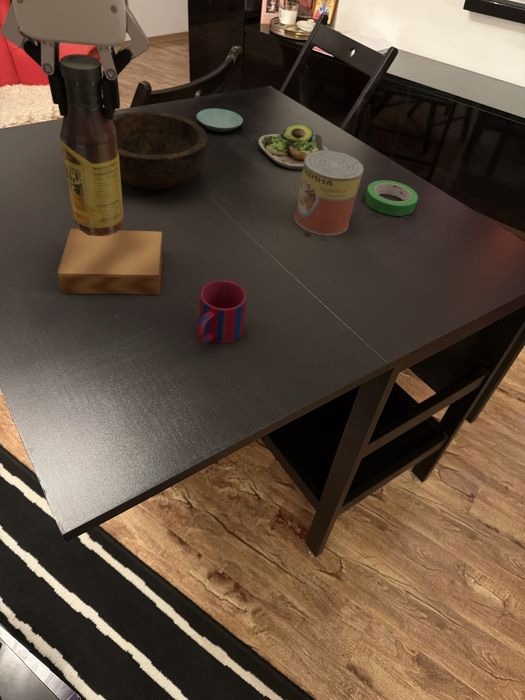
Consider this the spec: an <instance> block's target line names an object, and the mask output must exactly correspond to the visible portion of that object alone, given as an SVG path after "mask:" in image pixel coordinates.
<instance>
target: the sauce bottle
mask: <svg viewBox="0 0 525 700" xmlns="http://www.w3.org/2000/svg"><path fill="white" fill-rule="evenodd" d="M59 61H60V71H61V75H62V77H63V78H64V86H65V92H66V103H67V115H66V116H62V117H63V118H62V123H61V128H60V134H59V138H60V145H61V146H60V147H61V151H62V156H63V157H62V158H63V163H64V169H65V176H66V183H67V186H68V187H67V188H68V194H69V199H70V204H71V211H72V216H73V218H74V222H75V225H76V227H77V229H80V230H81V231H83V232H84V233H85V234H87V235H90V236H107V235H111V234H113V233H116V232H117V231H119V230H122V228H123V221H124V220H123V218H124V207H123V191H122V180H121V177H120V163H119V151H118V149H117V138H116V135H117V134H116V129H115V125H114V123H113V121H112V120H110V119H107V118H105V111H104V103H103V95H102V88H101V79H102V77H103V67H102V63H101V61H100V60H99V59H98V58H96V57H94V56H91V55H87V54H80V53H73V54H67V55H64V56H62V57H61V58H59Z"/></svg>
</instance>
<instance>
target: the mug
mask: <svg viewBox="0 0 525 700" xmlns="http://www.w3.org/2000/svg"><path fill="white" fill-rule="evenodd" d="M247 299H248V294H247V292H246V290H245V288H244V287H243V286H242V285H240V284H239V283H237V282H236V281H231V280H227V279H216V280H212V281H209V282H207V283H205V284H204V285H203V286H202V288H201V289H200V291H199V322H198V324H197V328H196V338H197V341H198V342H200V343H201V344H208V343H209V342H212V343H214V344H230V343H233V342H235V341H237V340H238V339H239V338H240V337H241V336H243V332H244V325H245V316H246V310H247V309H246V308H247Z"/></svg>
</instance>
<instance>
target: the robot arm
mask: <svg viewBox="0 0 525 700" xmlns="http://www.w3.org/2000/svg"><path fill="white" fill-rule="evenodd" d="M129 5H130V4H129V0H11V3H10V5H9V8H8V11H7V13H6V16H5V18H4V21H3V23H2V26H1V29H0V34H1V35H2V36H3V37H4V38H5V39H6V40H8V41H9V42H10V43H12V44H13V45H15V46H16V47H18V48H19V49H21V50H22V51H24V52H25V54H26V55H27V56H29V57H30V58H31V59H32V60H33V62H35V63H36V64H37V65H38V66H39V67H40V68H41V71H42V72H43V73H44V74H45V75H47V80H48V86H49V90H50V95H51V100H52V104H53V105H57V107H58V111H59V115H60V117H64V116H66V115H67V103H66V92H65V86H64V78H63V77H62V75H61V71H60V48H61V47H60V44H70V45H71V44H72V45H83V46H93V47H96V49H97V52H98V57H99V59H100V60H99V61H100V63H101V67H102V79H101V88H102V98H103V103H104V105H103V107H104V111H105V118H107V119H110V120H113V116H115V113H116V110H120V108H121V96H120V87H119V78H118V76H119V75H120V74H121V72H123V71H124V69H126V67H127V66H128V65H130V63H131V61H133V60H134V59H136V58H138V57H139V56H141V55H142V54H145V52H146V51H148V50H149V46H150V40H149V38H148V37H147V35H146V33H145V32H144V30H143V28H142V27H141V25H140V24H139V22H138V20H137V18H136V17H135V15H134V14H133V12H132V11H131V9H130V6H129ZM127 35H128V37H129V39H130V41H129V42H128V43H127V44H126V45H123V44H124V43H125V41H126V37H127ZM121 45H123V46H122V47H121V48H120V49H119V50H118V51H117V50H116V47H117V46H121Z"/></svg>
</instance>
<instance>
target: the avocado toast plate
mask: <svg viewBox="0 0 525 700" xmlns="http://www.w3.org/2000/svg"><path fill="white" fill-rule="evenodd" d="M322 141H323V139H322V136H321V135H319V134H316V133H315V134H314V131H313V129H312V128H311V127H310V126H309V125H307V124H302V123H295V124H290V125H287V126H286V128H283V132H282V133H270V134H264V135H262V136H260V137H259V139H258V140H257V144H258V148H259V150H260V151H261V152H262V153H264V154H265V155H266V156H267V157H268V158H269V159H270V160H272V161H273V162H275V164H278V165H279V166H280V167H282V168H286V169H289V170H295V171H303V167H304V159H305V156H306V155H307V154H309V153H311V152H314V151H319V150H329V148H328V147H326V146H325V145H324V144H323V142H322Z"/></svg>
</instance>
